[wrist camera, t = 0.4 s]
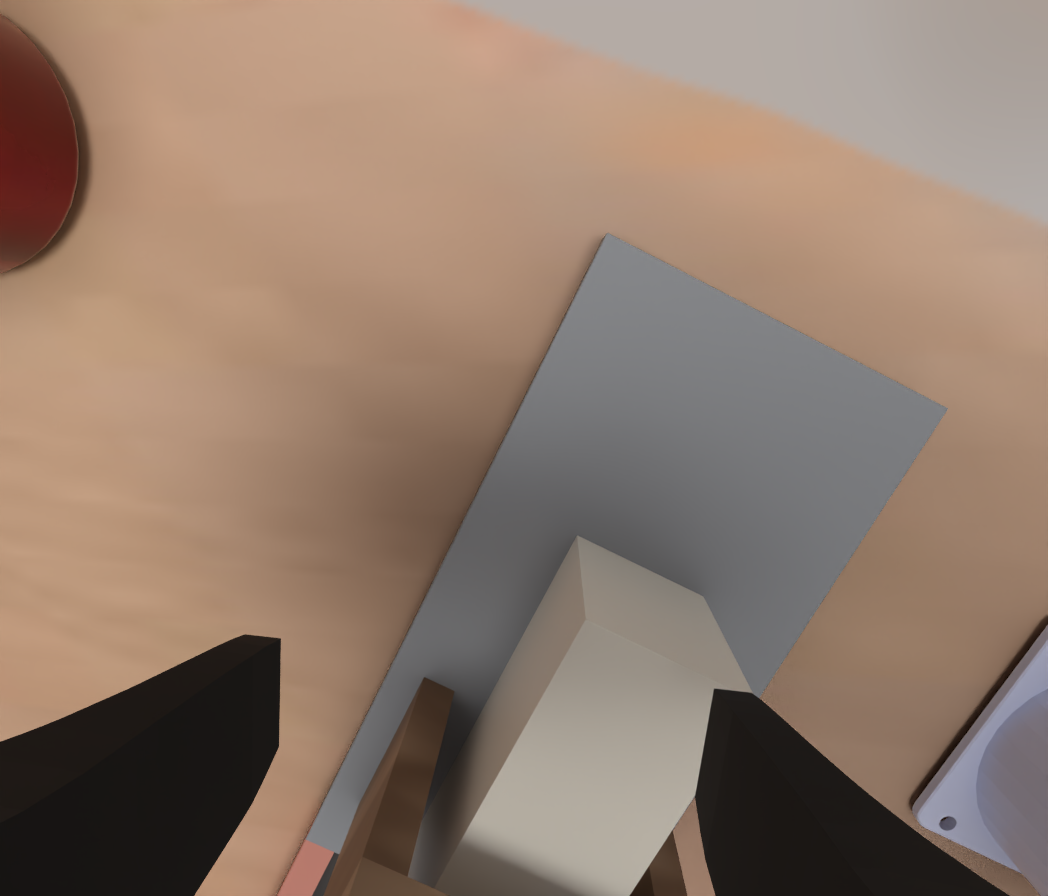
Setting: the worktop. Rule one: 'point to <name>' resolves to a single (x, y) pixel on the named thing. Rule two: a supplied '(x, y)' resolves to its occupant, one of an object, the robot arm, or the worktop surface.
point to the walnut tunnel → (398, 806)
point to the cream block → (582, 739)
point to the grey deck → (648, 495)
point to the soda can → (32, 149)
